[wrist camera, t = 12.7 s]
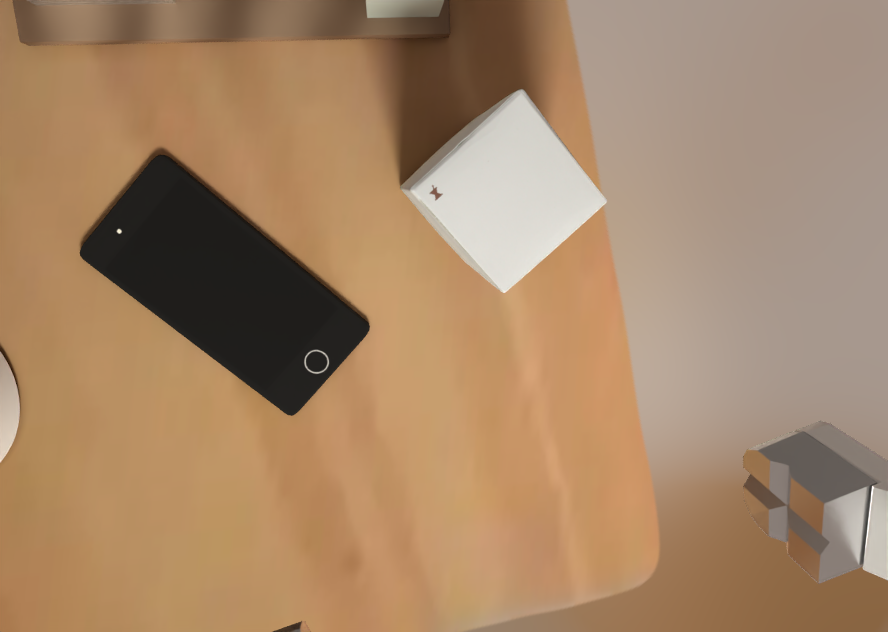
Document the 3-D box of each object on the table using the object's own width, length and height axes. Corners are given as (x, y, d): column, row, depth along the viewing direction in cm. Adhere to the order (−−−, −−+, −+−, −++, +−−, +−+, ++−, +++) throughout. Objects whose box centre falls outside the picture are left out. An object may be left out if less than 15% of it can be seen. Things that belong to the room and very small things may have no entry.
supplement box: (466, 266, 43) (500, 300, 31) (397, 186, 41) (404, 187, 29) (545, 197, 43) (612, 203, 30) (478, 113, 41) (521, 83, 29)
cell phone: (293, 414, 44) (292, 419, 44) (81, 252, 41) (74, 253, 40) (373, 325, 44) (372, 328, 43) (164, 151, 40) (159, 150, 39)
